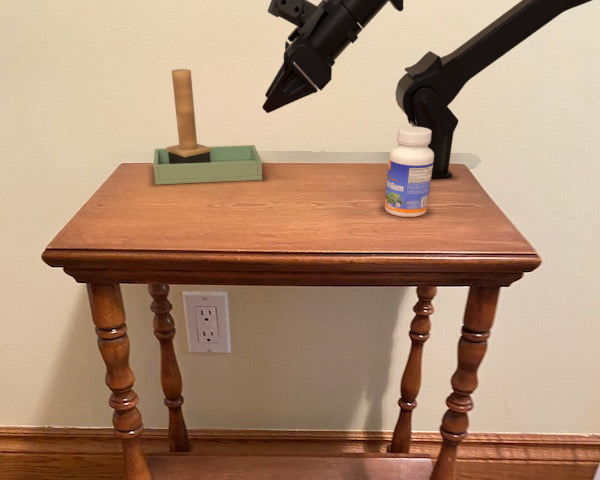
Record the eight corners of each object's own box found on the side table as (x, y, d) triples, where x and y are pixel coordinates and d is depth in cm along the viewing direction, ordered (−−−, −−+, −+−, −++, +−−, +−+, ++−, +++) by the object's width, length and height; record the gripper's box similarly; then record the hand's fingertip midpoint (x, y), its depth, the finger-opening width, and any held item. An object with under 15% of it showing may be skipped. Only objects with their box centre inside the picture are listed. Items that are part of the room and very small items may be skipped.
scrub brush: (212, 169, 93) (204, 70, 85) (186, 175, 90) (176, 74, 83) (193, 163, 96) (185, 67, 88) (168, 168, 93) (157, 70, 85)
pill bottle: (377, 206, 81) (383, 126, 75) (413, 202, 83) (422, 123, 77) (396, 220, 77) (404, 136, 71) (435, 215, 78) (446, 132, 73)
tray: (254, 162, 98) (254, 144, 97) (262, 179, 91) (261, 161, 89) (156, 166, 96) (154, 148, 95) (155, 184, 89) (153, 165, 87)
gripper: (303, -43, 86) (228, 49, 92) (305, -43, 70) (215, 67, 77) (358, 24, 90) (283, 107, 97) (370, 38, 75) (280, 135, 81)
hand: (266, 103), depth 88 cm, fingers open, 9 cm apart
